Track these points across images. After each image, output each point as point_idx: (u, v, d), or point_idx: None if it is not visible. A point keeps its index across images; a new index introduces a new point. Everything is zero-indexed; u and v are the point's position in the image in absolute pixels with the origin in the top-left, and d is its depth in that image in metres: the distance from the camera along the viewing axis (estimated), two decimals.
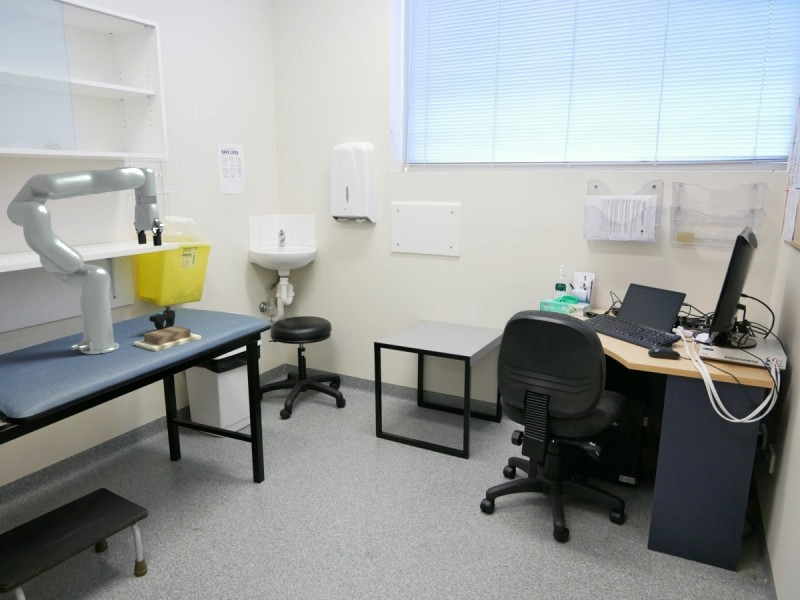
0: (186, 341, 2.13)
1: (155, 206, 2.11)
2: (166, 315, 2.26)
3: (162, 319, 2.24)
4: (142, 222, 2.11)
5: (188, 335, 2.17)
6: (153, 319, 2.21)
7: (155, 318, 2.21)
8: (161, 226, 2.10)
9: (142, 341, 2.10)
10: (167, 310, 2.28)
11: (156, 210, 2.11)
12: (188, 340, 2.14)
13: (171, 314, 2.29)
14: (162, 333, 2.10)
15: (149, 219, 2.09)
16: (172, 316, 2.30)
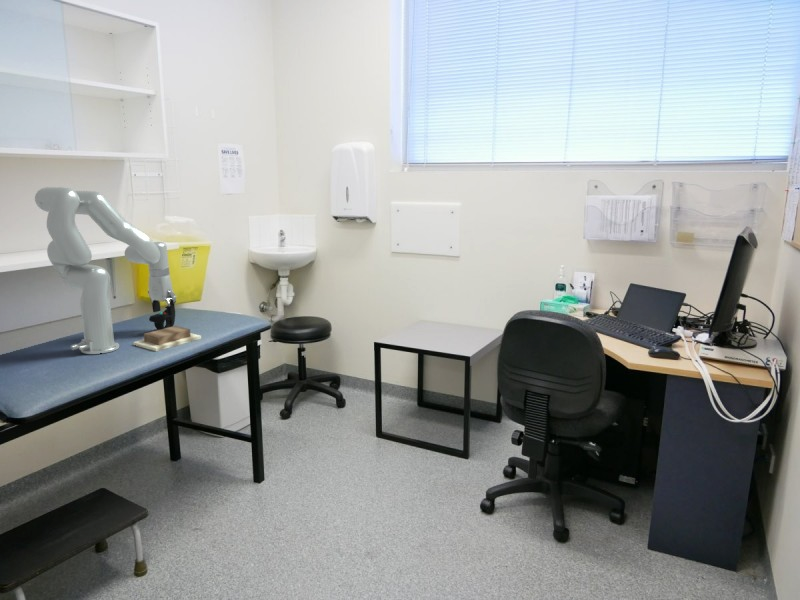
0: (186, 341, 2.13)
1: (168, 278, 2.22)
2: (166, 315, 2.26)
3: (162, 319, 2.24)
4: (156, 293, 2.22)
5: (188, 335, 2.17)
6: (153, 319, 2.21)
7: (155, 318, 2.21)
8: (174, 297, 2.21)
9: (142, 341, 2.10)
10: None
11: (169, 282, 2.22)
12: (188, 340, 2.14)
13: None
14: (162, 333, 2.10)
15: (163, 291, 2.20)
16: (172, 316, 2.30)
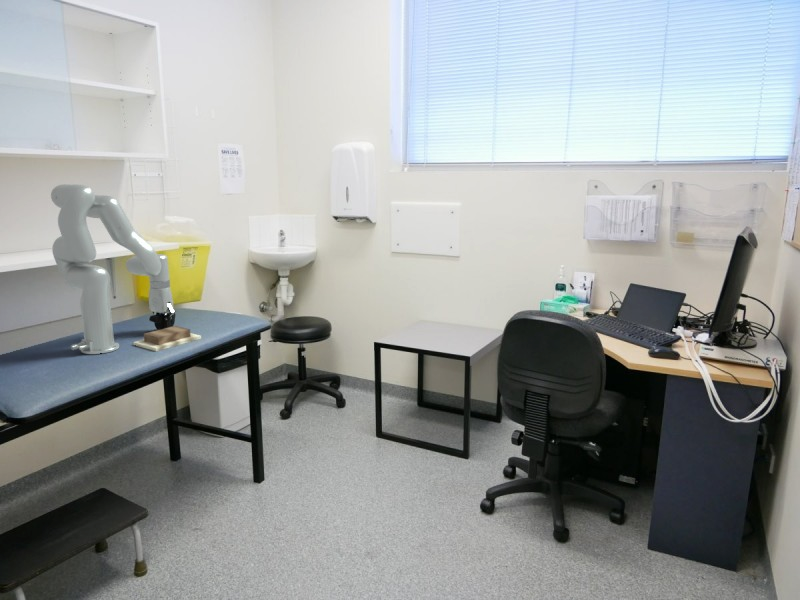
0: (186, 341, 2.13)
1: (168, 290, 2.23)
2: None
3: (162, 319, 2.24)
4: (156, 305, 2.23)
5: (188, 335, 2.17)
6: (153, 319, 2.21)
7: (155, 318, 2.21)
8: (172, 314, 2.23)
9: (142, 341, 2.10)
10: None
11: (169, 294, 2.23)
12: (188, 340, 2.14)
13: None
14: (162, 333, 2.10)
15: (163, 303, 2.21)
16: (172, 316, 2.30)
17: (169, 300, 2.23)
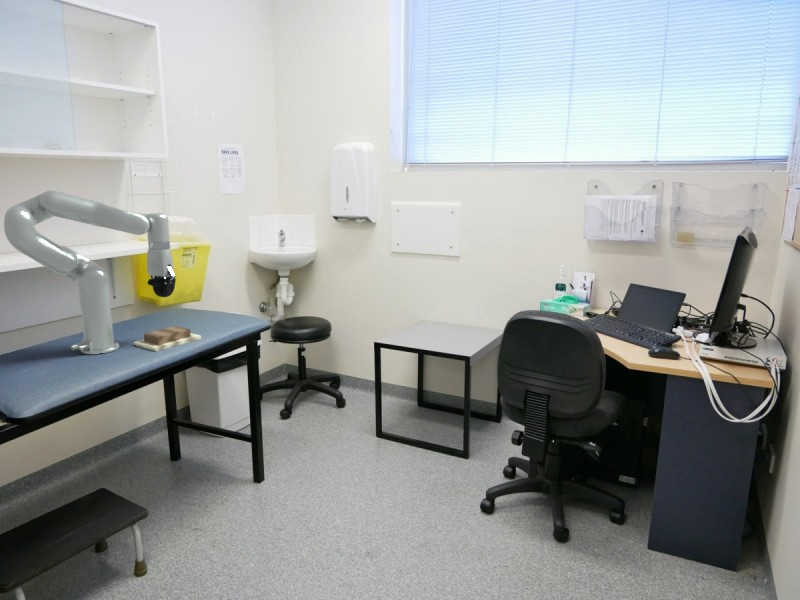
0: (186, 341, 2.13)
1: (168, 252, 2.08)
2: None
3: (161, 283, 2.09)
4: (155, 268, 2.08)
5: (188, 335, 2.17)
6: (152, 282, 2.06)
7: (154, 281, 2.06)
8: (172, 277, 2.08)
9: (142, 341, 2.10)
10: None
11: (170, 256, 2.08)
12: (188, 340, 2.14)
13: None
14: (162, 333, 2.10)
15: (163, 265, 2.06)
16: (172, 281, 2.15)
17: (169, 263, 2.08)
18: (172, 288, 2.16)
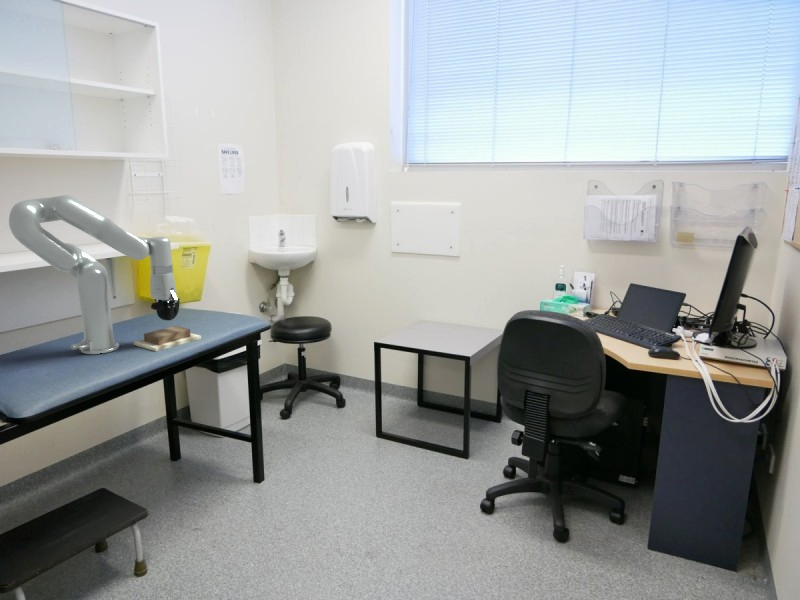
0: (186, 341, 2.13)
1: (171, 275, 2.07)
2: None
3: (165, 307, 2.09)
4: (158, 291, 2.07)
5: (188, 335, 2.17)
6: (155, 306, 2.05)
7: (157, 305, 2.05)
8: (175, 301, 2.07)
9: (142, 341, 2.10)
10: None
11: (172, 279, 2.07)
12: (188, 340, 2.14)
13: None
14: (162, 333, 2.10)
15: (165, 289, 2.05)
16: (176, 304, 2.14)
17: (172, 286, 2.07)
18: (176, 311, 2.15)
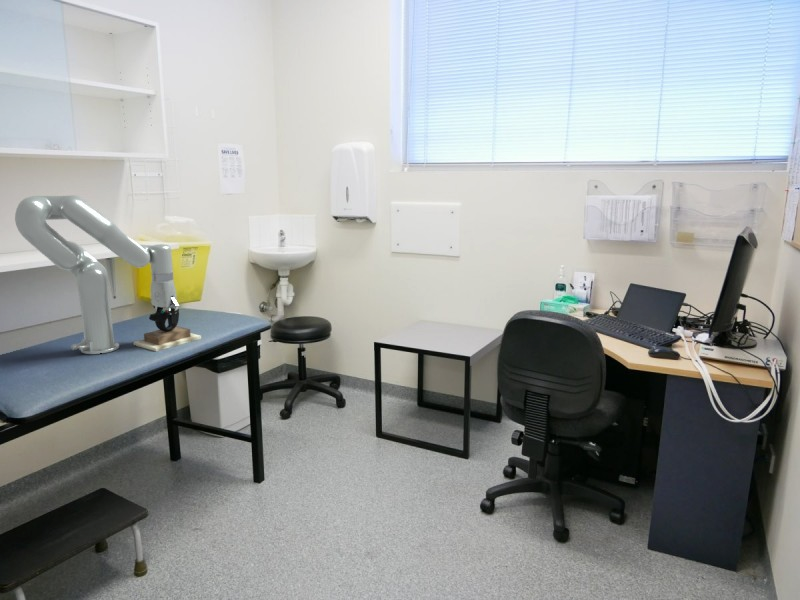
0: (186, 341, 2.13)
1: (171, 283, 2.07)
2: None
3: (163, 318, 2.09)
4: (159, 299, 2.08)
5: (188, 335, 2.17)
6: (153, 318, 2.06)
7: (155, 317, 2.06)
8: (177, 307, 2.07)
9: (142, 341, 2.10)
10: (170, 308, 2.13)
11: (173, 287, 2.08)
12: (188, 340, 2.14)
13: None
14: (162, 333, 2.10)
15: (166, 297, 2.06)
16: None
17: (172, 294, 2.08)
18: None
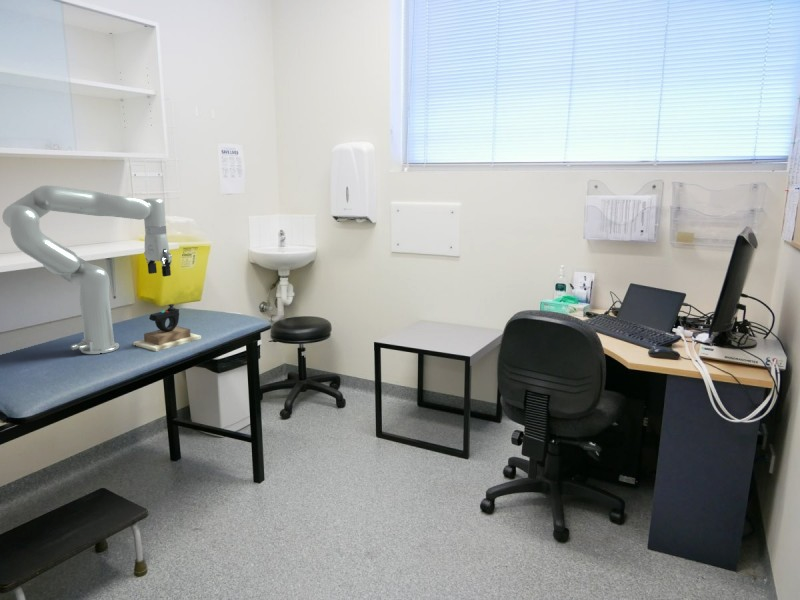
0: (186, 341, 2.13)
1: (164, 236, 2.10)
2: (168, 313, 2.11)
3: (163, 318, 2.09)
4: (152, 252, 2.11)
5: (188, 335, 2.17)
6: (153, 318, 2.06)
7: (155, 317, 2.06)
8: (170, 257, 2.09)
9: (142, 341, 2.10)
10: (170, 308, 2.13)
11: (165, 240, 2.11)
12: (188, 340, 2.14)
13: (174, 313, 2.14)
14: (162, 333, 2.10)
15: (158, 250, 2.09)
16: (175, 315, 2.14)
17: (165, 247, 2.10)
18: (175, 322, 2.15)
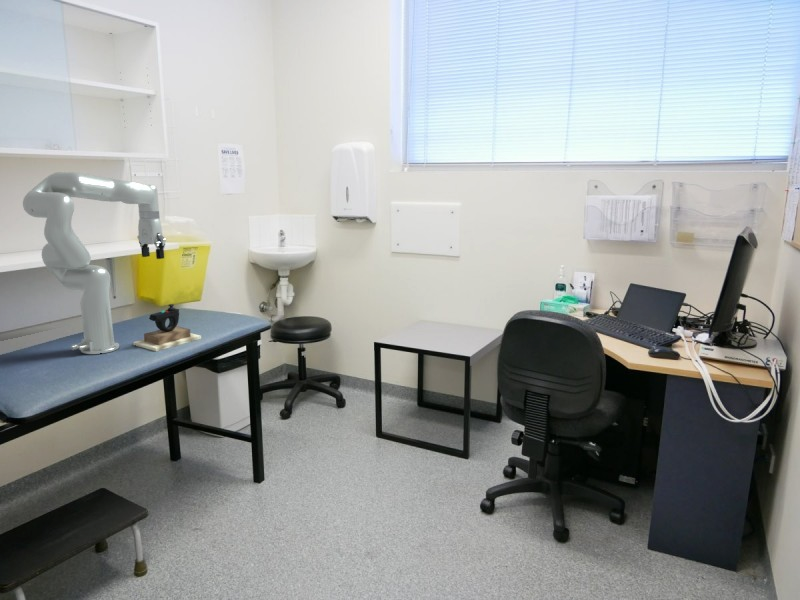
0: (186, 341, 2.13)
1: (158, 221, 2.21)
2: (168, 313, 2.11)
3: (163, 318, 2.09)
4: (146, 236, 2.22)
5: (188, 335, 2.17)
6: (153, 318, 2.06)
7: (155, 317, 2.06)
8: (164, 240, 2.20)
9: (142, 341, 2.10)
10: (170, 308, 2.13)
11: (159, 225, 2.22)
12: (188, 340, 2.14)
13: (174, 313, 2.14)
14: (162, 333, 2.10)
15: (152, 233, 2.20)
16: (175, 315, 2.14)
17: (158, 231, 2.22)
18: (175, 322, 2.15)
